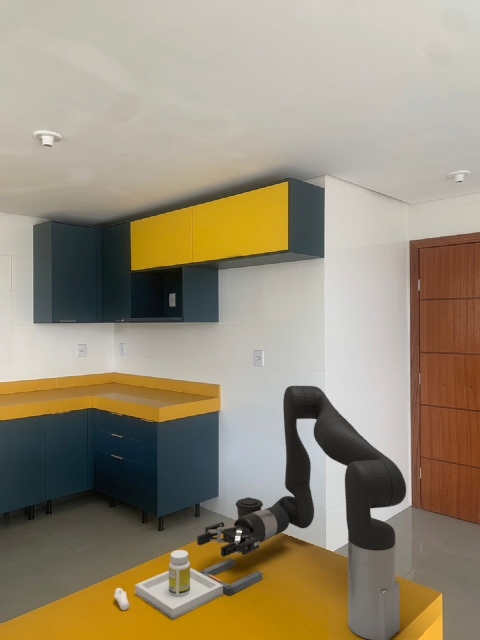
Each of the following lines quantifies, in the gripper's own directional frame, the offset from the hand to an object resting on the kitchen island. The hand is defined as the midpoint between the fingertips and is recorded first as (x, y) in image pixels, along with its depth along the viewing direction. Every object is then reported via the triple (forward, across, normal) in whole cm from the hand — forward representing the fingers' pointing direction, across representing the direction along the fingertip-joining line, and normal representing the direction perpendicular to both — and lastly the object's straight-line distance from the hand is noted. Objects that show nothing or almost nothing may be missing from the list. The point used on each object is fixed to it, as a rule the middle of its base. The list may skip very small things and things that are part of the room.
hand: (209, 546), depth 120 cm
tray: (+9, 0, +8) cm, 12 cm away
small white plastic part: (+21, -5, +8) cm, 23 cm away
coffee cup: (-26, -12, +8) cm, 30 cm away
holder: (-4, +3, +8) cm, 9 cm away
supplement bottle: (+9, 0, +8) cm, 12 cm away
